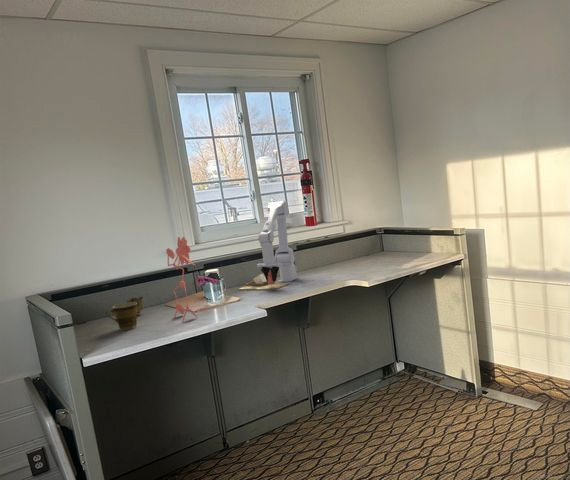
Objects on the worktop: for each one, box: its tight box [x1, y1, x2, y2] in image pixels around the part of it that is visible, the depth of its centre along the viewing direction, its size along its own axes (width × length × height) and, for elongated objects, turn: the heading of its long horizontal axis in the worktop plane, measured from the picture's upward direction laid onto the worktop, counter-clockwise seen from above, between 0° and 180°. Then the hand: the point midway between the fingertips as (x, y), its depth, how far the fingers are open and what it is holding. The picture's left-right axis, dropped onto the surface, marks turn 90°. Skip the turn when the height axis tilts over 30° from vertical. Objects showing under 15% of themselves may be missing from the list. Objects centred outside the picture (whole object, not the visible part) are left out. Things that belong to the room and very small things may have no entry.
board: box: [238, 280, 290, 291], centre depth 270 cm, size 14×23×2 cm, turn 56°
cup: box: [126, 296, 144, 317], centre depth 237 cm, size 8×7×8 cm
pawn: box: [267, 271, 276, 285], centre depth 261 cm, size 3×3×6 cm
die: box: [253, 273, 266, 284], centre depth 274 cm, size 5×5×5 cm
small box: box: [204, 268, 220, 277], centre depth 265 cm, size 8×6×13 cm
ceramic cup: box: [105, 302, 138, 332], centre depth 211 cm, size 13×10×10 cm
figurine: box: [165, 236, 210, 321], centre depth 220 cm, size 15×26×35 cm, turn 36°
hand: (271, 281), depth 261 cm, fingers closed on pawn, 3 cm apart
